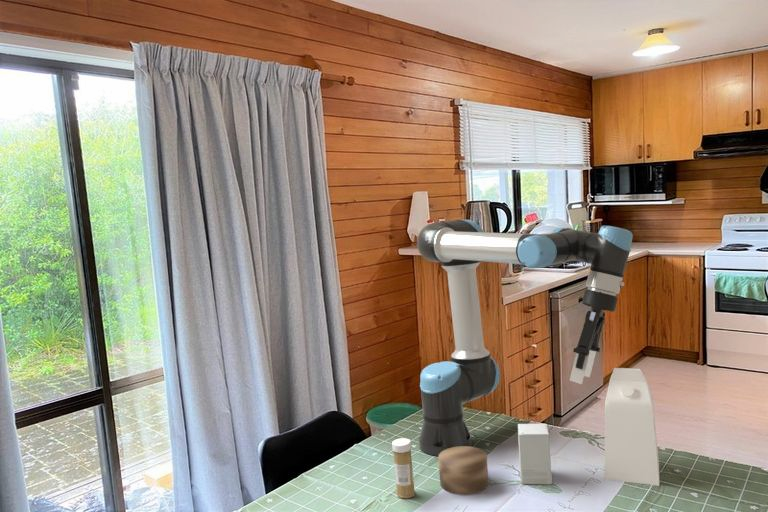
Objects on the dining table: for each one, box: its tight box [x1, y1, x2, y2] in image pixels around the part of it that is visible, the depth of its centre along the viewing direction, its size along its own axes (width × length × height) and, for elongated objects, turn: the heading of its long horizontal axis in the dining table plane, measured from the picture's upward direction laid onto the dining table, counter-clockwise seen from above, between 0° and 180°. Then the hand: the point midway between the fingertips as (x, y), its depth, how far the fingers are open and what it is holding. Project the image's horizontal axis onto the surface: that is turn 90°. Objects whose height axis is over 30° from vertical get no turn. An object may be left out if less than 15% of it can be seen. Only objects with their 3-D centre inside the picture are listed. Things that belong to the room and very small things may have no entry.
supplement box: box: [517, 423, 553, 485], centre depth 143 cm, size 7×7×13 cm
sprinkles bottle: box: [391, 438, 416, 499], centre depth 140 cm, size 5×5×13 cm
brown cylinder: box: [437, 446, 490, 496], centre depth 144 cm, size 12×12×7 cm
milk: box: [604, 367, 660, 487], centre depth 142 cm, size 12×12×26 cm
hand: (580, 379), depth 137 cm, fingers open, 13 cm apart
